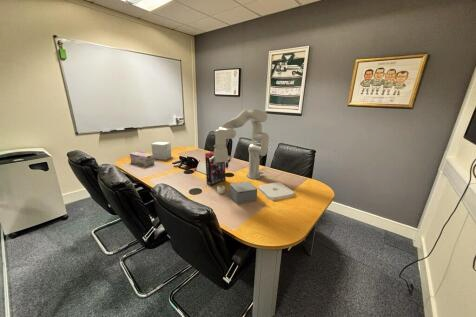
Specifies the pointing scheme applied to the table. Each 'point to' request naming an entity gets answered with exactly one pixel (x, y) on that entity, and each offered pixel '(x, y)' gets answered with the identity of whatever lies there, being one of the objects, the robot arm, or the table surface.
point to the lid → (243, 187)
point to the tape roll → (221, 189)
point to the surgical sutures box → (142, 159)
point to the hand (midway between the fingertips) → (220, 168)
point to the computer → (275, 191)
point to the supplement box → (161, 150)
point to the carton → (242, 195)
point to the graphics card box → (211, 174)
